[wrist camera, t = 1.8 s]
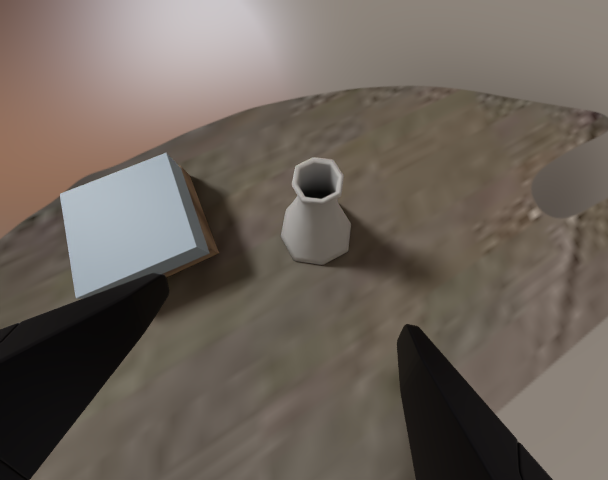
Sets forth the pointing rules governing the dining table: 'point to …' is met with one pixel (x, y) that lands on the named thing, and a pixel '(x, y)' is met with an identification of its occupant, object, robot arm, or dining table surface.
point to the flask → (316, 214)
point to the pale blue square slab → (130, 226)
